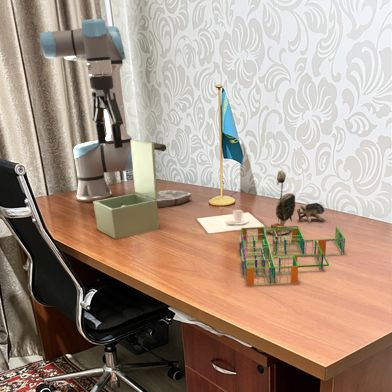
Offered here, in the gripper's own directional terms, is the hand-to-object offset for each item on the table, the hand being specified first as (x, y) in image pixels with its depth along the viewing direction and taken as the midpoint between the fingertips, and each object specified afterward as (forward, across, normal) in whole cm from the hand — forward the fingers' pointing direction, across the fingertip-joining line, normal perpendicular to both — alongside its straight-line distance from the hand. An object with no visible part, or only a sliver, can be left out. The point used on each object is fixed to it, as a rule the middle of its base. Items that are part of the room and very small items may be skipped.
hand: (110, 145), depth 177 cm
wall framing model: (+27, +71, +21) cm, 79 cm away
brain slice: (+28, -16, +28) cm, 43 cm away
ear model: (+28, +27, +30) cm, 49 cm away
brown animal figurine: (+27, +46, +51) cm, 74 cm away
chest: (+27, +8, -1) cm, 28 cm away
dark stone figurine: (+27, +48, +36) cm, 66 cm away
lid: (+8, +8, +8) cm, 13 cm away
